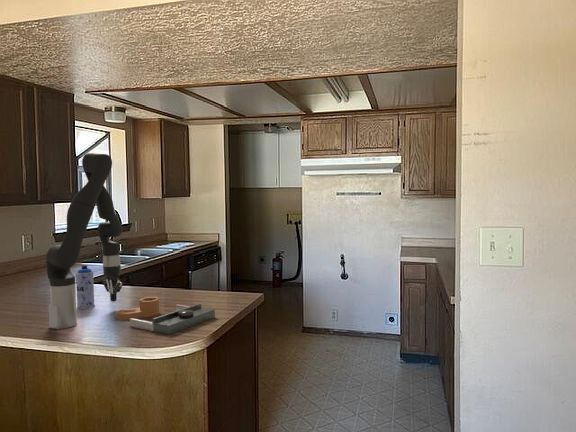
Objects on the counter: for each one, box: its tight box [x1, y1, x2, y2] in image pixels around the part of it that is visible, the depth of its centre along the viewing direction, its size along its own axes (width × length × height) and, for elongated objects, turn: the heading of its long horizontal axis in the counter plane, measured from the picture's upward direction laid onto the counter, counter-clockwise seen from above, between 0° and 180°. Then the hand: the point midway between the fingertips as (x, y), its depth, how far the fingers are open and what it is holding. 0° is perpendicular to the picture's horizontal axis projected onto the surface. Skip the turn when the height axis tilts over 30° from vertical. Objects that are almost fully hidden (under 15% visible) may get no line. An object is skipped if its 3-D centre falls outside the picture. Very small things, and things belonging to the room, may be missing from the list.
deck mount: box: [129, 303, 216, 336], centre depth 182 cm, size 26×22×5 cm
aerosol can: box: [75, 265, 96, 310], centre depth 208 cm, size 8×8×20 cm
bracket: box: [116, 296, 160, 321], centre depth 192 cm, size 18×8×7 cm, turn 117°
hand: (113, 301), depth 203 cm, fingers closed
